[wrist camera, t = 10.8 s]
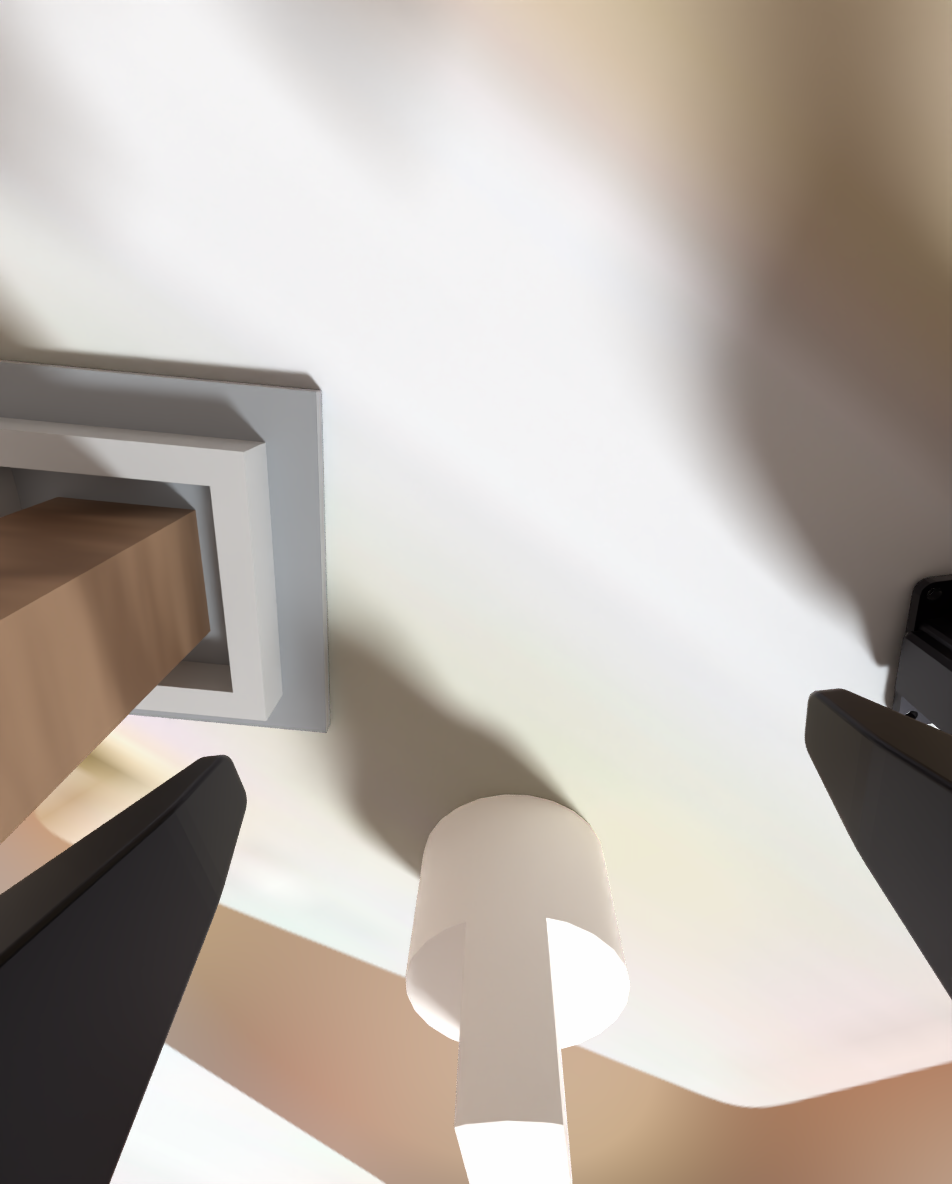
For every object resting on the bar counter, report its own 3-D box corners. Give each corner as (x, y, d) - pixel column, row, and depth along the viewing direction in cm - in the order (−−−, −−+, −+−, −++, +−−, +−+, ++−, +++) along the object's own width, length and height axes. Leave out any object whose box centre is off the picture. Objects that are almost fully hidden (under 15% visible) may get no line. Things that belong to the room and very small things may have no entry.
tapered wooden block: (195, 509, 20) (-190, 728, 9) (210, 630, 22) (-89, 933, 11) (57, 497, 20) (-505, 698, 9) (85, 619, 22) (-342, 909, 11)
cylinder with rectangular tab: (606, 918, 29) (670, 1261, 19) (438, 926, 30) (403, 1260, 19) (601, 787, 26) (676, 1117, 15) (409, 800, 27) (346, 1123, 16)
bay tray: (321, 390, 19) (298, 397, 17) (330, 724, 25) (313, 761, 23) (-91, 351, 19) (-167, 352, 17) (14, 694, 25) (-33, 729, 23)
